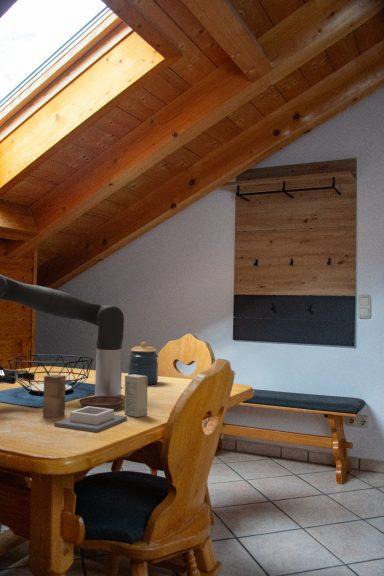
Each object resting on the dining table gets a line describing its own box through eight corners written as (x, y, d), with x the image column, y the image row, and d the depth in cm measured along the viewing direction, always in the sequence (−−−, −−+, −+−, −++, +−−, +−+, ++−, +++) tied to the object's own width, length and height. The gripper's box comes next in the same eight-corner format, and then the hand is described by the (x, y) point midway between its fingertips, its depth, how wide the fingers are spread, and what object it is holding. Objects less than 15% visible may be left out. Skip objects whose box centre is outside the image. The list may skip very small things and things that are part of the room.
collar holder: (87, 414, 157) (87, 403, 157) (126, 419, 152) (127, 408, 152) (54, 426, 142) (54, 413, 142) (96, 432, 137) (97, 419, 137)
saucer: (75, 404, 172) (75, 396, 172) (118, 402, 177) (118, 394, 177) (82, 414, 158) (82, 405, 158) (128, 411, 164) (128, 403, 164)
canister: (130, 380, 224) (131, 340, 224) (159, 381, 224) (160, 340, 224) (124, 385, 211) (126, 342, 211) (156, 386, 211) (157, 343, 211)
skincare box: (147, 415, 158) (148, 376, 158) (137, 417, 155) (138, 377, 155) (133, 412, 162) (135, 373, 162) (123, 414, 159) (124, 374, 159)
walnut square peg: (52, 413, 157) (53, 374, 158) (64, 415, 156) (65, 375, 156) (42, 416, 153) (44, 376, 154) (55, 418, 152) (56, 377, 152)
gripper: (-32, 364, 159) (9, 369, 152) (1, 360, 172) (40, 364, 166) (-33, 388, 159) (7, 394, 152) (0, 382, 172) (39, 387, 165)
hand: (24, 378), depth 159 cm, fingers open, 8 cm apart
